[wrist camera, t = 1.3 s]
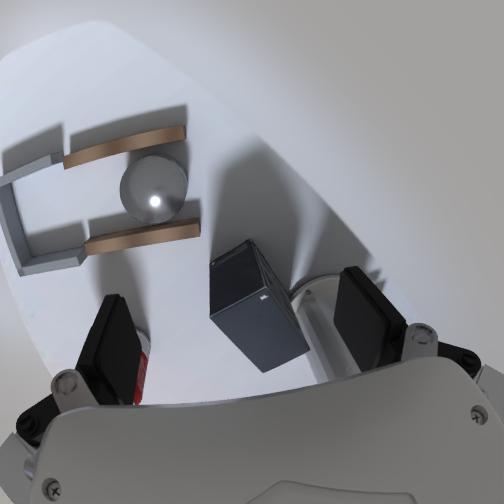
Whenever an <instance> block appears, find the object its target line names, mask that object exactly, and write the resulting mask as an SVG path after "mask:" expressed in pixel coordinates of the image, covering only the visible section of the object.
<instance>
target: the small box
mask: <svg viewBox="0 0 504 504" xmlns="http://www.w3.org/2000/svg"><path fill="white" fill-rule="evenodd" d="M209 268H210V319H211V320H212V321H213V322H214V323H215V324H216V325H217V326H218V327H219V329H220V330H221V331H222V332H223V333H224V334H225V335H226V336H227V337H228V338H229V339H230V340H231V341H232V342H233V343H234V344H235V345H236V346H237V347H238V348H239V349H240V350H241V351H242V353H243V354H244V355H245V356H246V357H247V358H248V359H249V360H250V361H251V362H252V363H253V364H254V365H255V366H256V367H257V368H258V369H259V370H260V371H261V372H262V373H265V372H267V371H269V370H272V369H274V368H276V367H278V366H280V365H282V364H284V363H286V362H288V361H290V360H292V359H294V358H296V357H298V356H300V355H302V354H304V353H306V352H309V351H310V347H309V345H308V343H307V341H306V339H305V337H304V334H303V332H302V330H301V327H300V325H299V322H298V320H297V317H296V315H295V312H294V310H293V307H292V305H291V302H290V299H289V296H288V295H287V293H286V291H285V290H284V288H283V287H282V285H281V284H280V282H279V280H278V279H277V277H276V276H275V274H274V273H273V271H272V269H271V268H270V266H269V264H268V263H267V261H266V260H265V258H264V257H263V255H262V254H261V252H260V251H259V249H258V248H257V246H256V245H255V243H254V242H253V240H252V239H249V240H247V241H245V242H244V243H243V244H241V245H239V246H238V247H236V248H235V249H233V250H231V251H230V252H227V253H226V254H224V255H223V256H220V257H219V258H217V259H216V260H214V261H213V262H211V263H210V264H209Z"/></svg>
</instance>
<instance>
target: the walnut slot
mask: <svg viewBox="0 0 504 504" xmlns="http://www.w3.org/2000/svg"><path fill="white" fill-rule="evenodd" d="M183 139H186V133H185V126H184V125H179V126H174V127H169V128H164V129H159V130H154V131H150V132H145V133H141V134H137V135H133V136H129V137H125V138H121V139H117V140H114V141H110V142H107V143H103V144H100V145H96V146H93V147H90V148H87V149H84V150H81V151H78V152H75V153H72V154H69V155H66V156H63V157H62V160H63V165H64V170H65V169H68V168H71V167H74V166H77V165H81V164H84V163H87V162H90V161H94V160H97V159H101V158H104V157H108V156H111V155H115V154H119V153H123V152H127V151H131V150H135V149H139V148H144V147H148V146H153V145H157V144H162V143H167V142H172V141H178V140H183ZM200 233H201V229H200V223H199V218H193V219H187V220H181V221H175V222H170V223H164V224H158V225H152V226H147V227H141V228H136V229H131V230H126V231H120V232H115V233H110V234H105V235H100V236H95V237H91V238H89V239H88V240H87V241H86V242H85V244H84V246H85V249H86V252H87V255H88V256H89V255H94V254H99V253H105V252H111V251H116V250H122V249H128V248H133V247H139V246H145V245H151V244H157V243H163V242H169V241H175V240H181V239H187V238H194V237H200Z"/></svg>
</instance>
